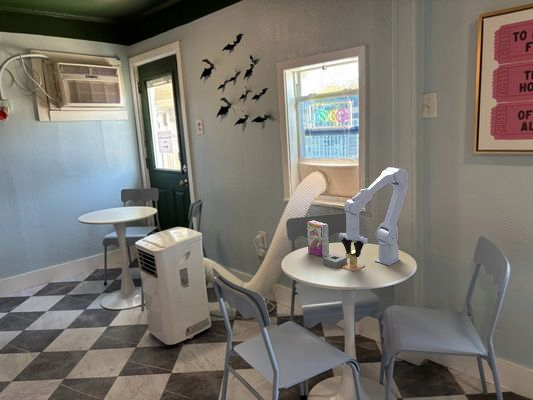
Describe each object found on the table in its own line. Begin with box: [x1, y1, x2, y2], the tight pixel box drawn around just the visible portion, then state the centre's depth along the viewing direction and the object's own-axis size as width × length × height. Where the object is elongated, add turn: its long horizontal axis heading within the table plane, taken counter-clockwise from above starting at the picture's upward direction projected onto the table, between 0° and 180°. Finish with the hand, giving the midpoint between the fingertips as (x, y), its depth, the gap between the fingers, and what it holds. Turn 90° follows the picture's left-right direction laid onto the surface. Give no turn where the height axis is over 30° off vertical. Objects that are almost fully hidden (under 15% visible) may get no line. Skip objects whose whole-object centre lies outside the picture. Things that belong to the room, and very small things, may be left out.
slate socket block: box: [322, 253, 348, 269], centre depth 183 cm, size 8×8×3 cm
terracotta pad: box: [341, 262, 366, 273], centre depth 177 cm, size 8×7×1 cm
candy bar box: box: [306, 220, 330, 258], centre depth 196 cm, size 11×5×16 cm, turn 34°
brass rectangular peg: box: [345, 249, 362, 268], centre depth 177 cm, size 8×2×7 cm, turn 131°
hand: (353, 255), depth 176 cm, fingers open, 4 cm apart
